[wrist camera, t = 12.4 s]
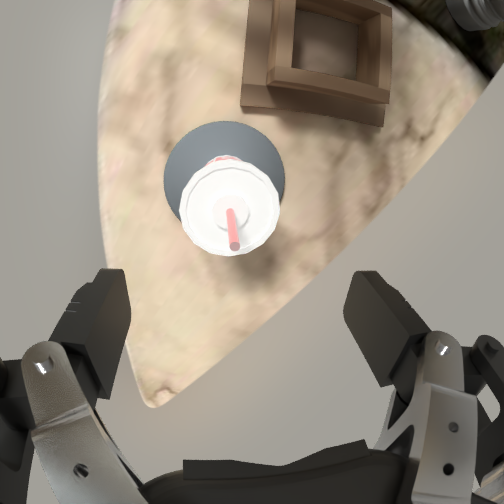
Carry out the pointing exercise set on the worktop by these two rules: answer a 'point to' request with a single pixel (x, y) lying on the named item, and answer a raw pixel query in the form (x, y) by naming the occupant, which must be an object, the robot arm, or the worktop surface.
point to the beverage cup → (229, 207)
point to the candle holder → (476, 13)
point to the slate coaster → (218, 144)
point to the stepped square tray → (314, 83)
